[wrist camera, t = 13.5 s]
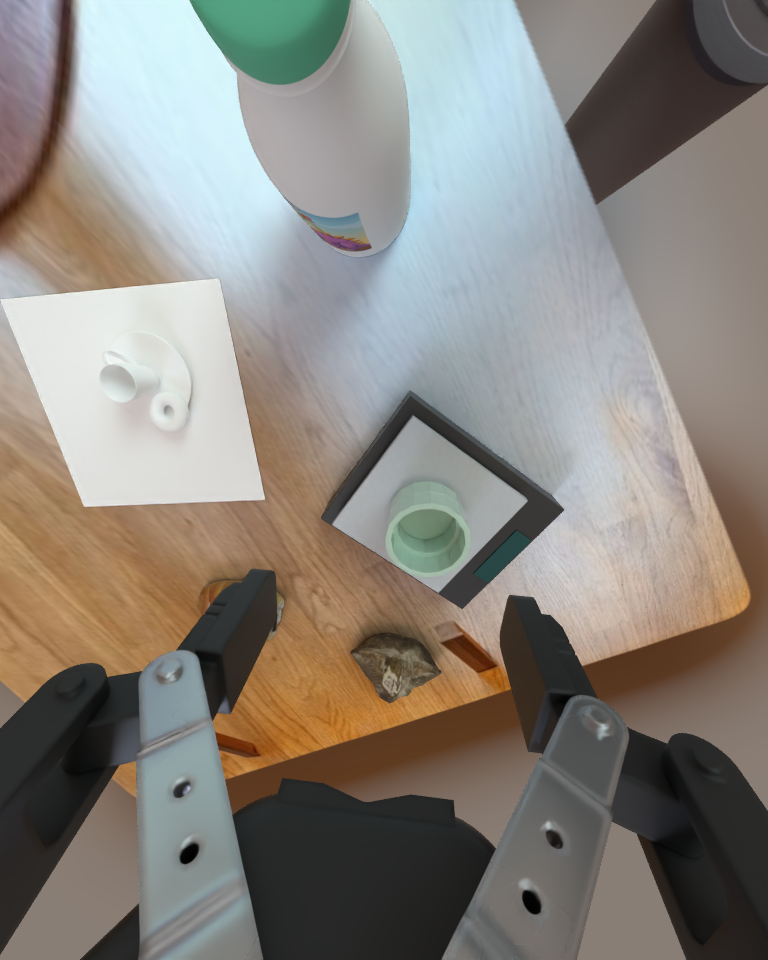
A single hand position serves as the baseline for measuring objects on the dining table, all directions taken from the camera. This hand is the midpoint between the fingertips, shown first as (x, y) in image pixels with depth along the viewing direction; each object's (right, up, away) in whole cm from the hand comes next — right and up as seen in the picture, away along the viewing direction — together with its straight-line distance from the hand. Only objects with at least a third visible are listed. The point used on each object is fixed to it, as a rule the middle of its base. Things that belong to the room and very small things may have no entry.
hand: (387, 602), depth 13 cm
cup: (+3, +1, +19) cm, 19 cm away
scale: (+5, +2, +24) cm, 24 cm away
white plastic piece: (-23, +11, +22) cm, 34 cm away
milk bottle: (-2, +25, +15) cm, 30 cm away
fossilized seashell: (+1, -16, +31) cm, 35 cm away
